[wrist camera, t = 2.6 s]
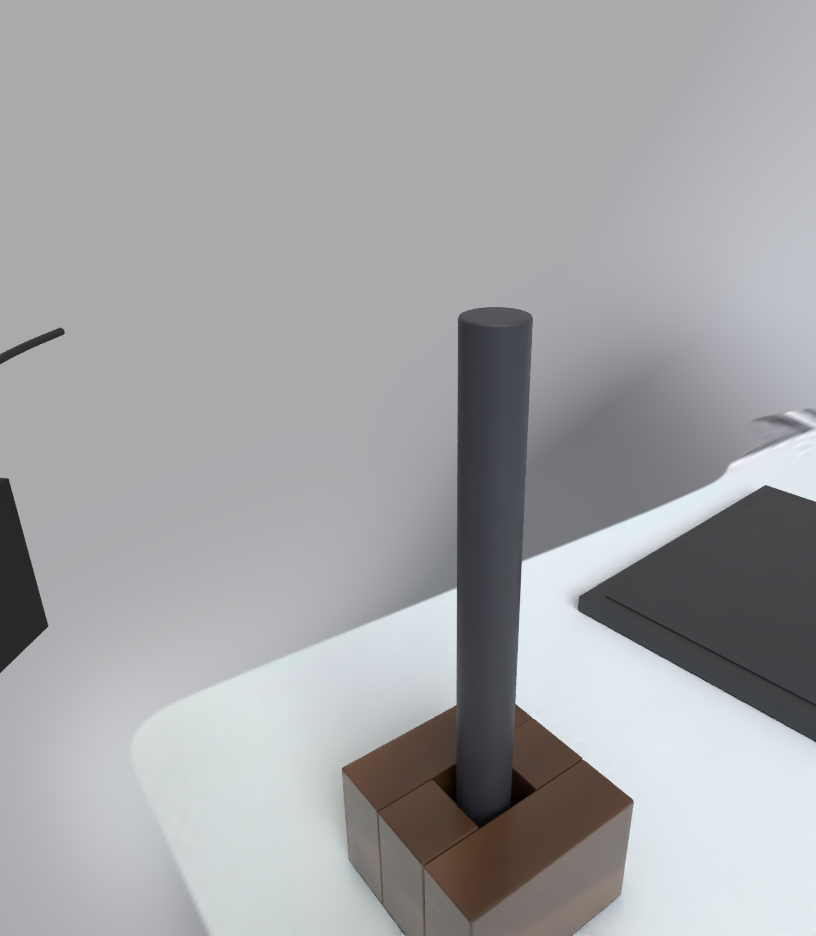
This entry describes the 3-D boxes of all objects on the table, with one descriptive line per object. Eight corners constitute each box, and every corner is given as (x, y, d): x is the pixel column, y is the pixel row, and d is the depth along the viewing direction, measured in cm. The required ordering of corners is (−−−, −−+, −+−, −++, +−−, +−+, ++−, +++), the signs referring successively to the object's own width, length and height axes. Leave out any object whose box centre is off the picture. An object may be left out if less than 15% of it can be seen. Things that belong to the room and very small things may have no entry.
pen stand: (348, 859, 28) (341, 767, 26) (490, 771, 31) (492, 684, 29) (469, 1022, 23) (471, 922, 21) (622, 895, 26) (635, 799, 24)
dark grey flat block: (763, 496, 53) (765, 483, 52) (1004, 580, 43) (1010, 564, 42) (577, 610, 41) (578, 594, 41) (849, 760, 31) (855, 741, 31)
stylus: (452, 856, 28) (453, 308, 19) (502, 853, 28) (524, 305, 19) (459, 903, 26) (463, 325, 18) (511, 898, 26) (540, 322, 18)
